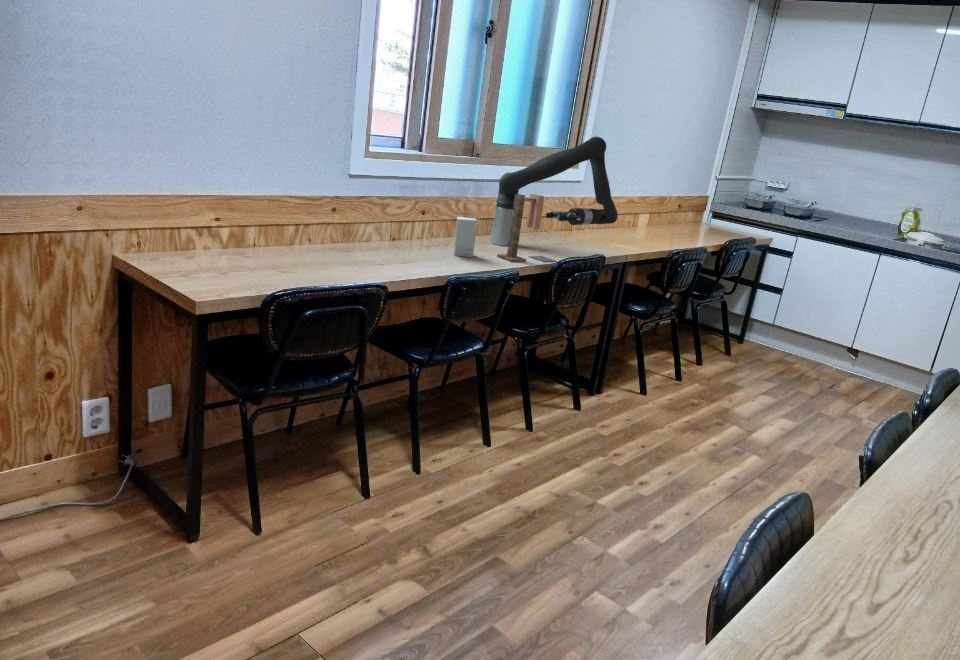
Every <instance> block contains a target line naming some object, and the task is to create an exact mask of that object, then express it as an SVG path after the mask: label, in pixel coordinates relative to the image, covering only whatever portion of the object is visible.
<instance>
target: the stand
mask: <svg viewBox="0 0 960 660" xmlns="http://www.w3.org/2000/svg"><path fill="white" fill-rule="evenodd" d="M525 202H536V199H533V198H530V197H528V198H527V197H526V194H522V193H518V194H515V200H514V207H513V214H512V221H511V229H510V236H509V243H508V246H507V252H506V253H496V258H499V259H502V260H505V261H507V262H509V263H521V262H522V263H527V258H525V257H521V256H519V255H518V249H519V242H520V236H521V228H522V222H523V215H524V208H525Z"/></svg>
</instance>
